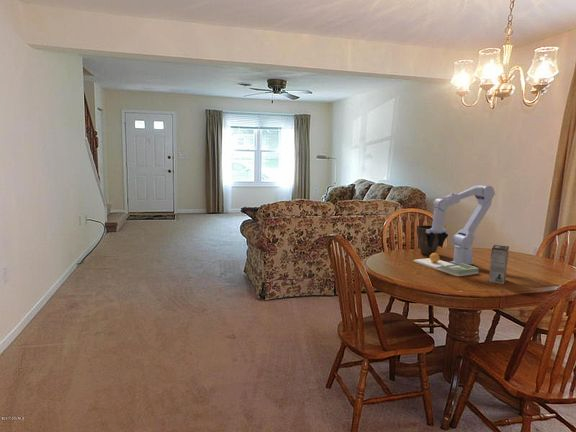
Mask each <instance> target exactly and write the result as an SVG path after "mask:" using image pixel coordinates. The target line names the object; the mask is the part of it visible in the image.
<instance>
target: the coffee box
mask: <svg viewBox="0 0 576 432" xmlns="http://www.w3.org/2000/svg"><path fill="white" fill-rule="evenodd" d="M509 247H510V246H509V245H508V246H507V245H499V244H494V245H493V246H492V248H491V255H490V256H491V257H490V266H489V276H488V277H489V278H488V282H489V283H494V284H499V285H504V284H505V282H506V279H507V277H506V275H507V267H508V257H509V249H510V248H509Z"/></svg>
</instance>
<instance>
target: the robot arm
mask: <svg viewBox="0 0 576 432" xmlns="http://www.w3.org/2000/svg"><path fill="white" fill-rule="evenodd" d="M495 195H496V192H495V189H494V187H493V186H491V185H482V184H476V185H473V186H471V187H470V188H467V189H465V190H462V191H461V192H458V193H456V192H450V193H449V194H448V195H445V196H442V197H441V198H440V197H439V198H435V200H434V201H433V203H432V207H433V216H432V217H433V218H432V225H431V226H432V228H430V229H426V232H425V235H426V237H427V242H428V246H429V247H432V245H433V241H434V238H435V236H436V235H434V234H433V233H437V234H438V247H440V248H442V247H443V245H444V243H445V241H446V239H447V238H448V237H449V234H448V233H449V229H445V228H444V227H445V220H446V214H447V213H446V212H447V210H448V209H449V208H450V207H452V206H454V205H457V204H459V203H460V202H461V200H464V199H466V198H469V197H472V196H474V197H475V199H476V201H477V203H478V204H477V206H476V208H475V209H474V211H473V212H472V214H470V216H469V219H468V220H467V222H466V223H465V225H464V226H463V228H461V229H459V230H458V231H457V232H456V233H455V234H454V235H453V236H452V239H451V241H452V243H453V244H454V245H453V246H454V251H453V260H450V261H449V263H452V264H455V265H458V266H460V263H463V264H467V265H474V263H475V262H473V261H474V259H473V257H474V250H473V248H472V245H473V242H474V239H475V235H474V233H475V232H476V230H477V228H478V227H479V225H480V224H481V222H482V220H483V219H484V217H485V216H486V214H487V212H488V210H489V209H490V207H491V206H492V201H493V199H494V197H495Z"/></svg>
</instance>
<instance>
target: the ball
mask: <svg viewBox="0 0 576 432" xmlns="http://www.w3.org/2000/svg"><path fill="white" fill-rule="evenodd" d="M429 258H430V260H431V261H432V262H438V261H439V260H441V259H440V255H439V254H438V253H436V252H435V253H432V254H431V255H429Z"/></svg>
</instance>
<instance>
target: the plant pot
mask: <svg viewBox="0 0 576 432" xmlns="http://www.w3.org/2000/svg"><path fill="white" fill-rule="evenodd" d="M430 228H432V225H427V224H426V225H423V224H422V225H416V236H417V243H418V247H419V250H420V253H421V254H422V255H425V256H430V255H431V254H432V253H436V251H437V249H438V247H439V246H438V234H437V233H433V234H434V235H436V236H435V238H434V241H433V245H432V247H429V246H428V242H427V237H426V235H425V232H426V229H430Z"/></svg>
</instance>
